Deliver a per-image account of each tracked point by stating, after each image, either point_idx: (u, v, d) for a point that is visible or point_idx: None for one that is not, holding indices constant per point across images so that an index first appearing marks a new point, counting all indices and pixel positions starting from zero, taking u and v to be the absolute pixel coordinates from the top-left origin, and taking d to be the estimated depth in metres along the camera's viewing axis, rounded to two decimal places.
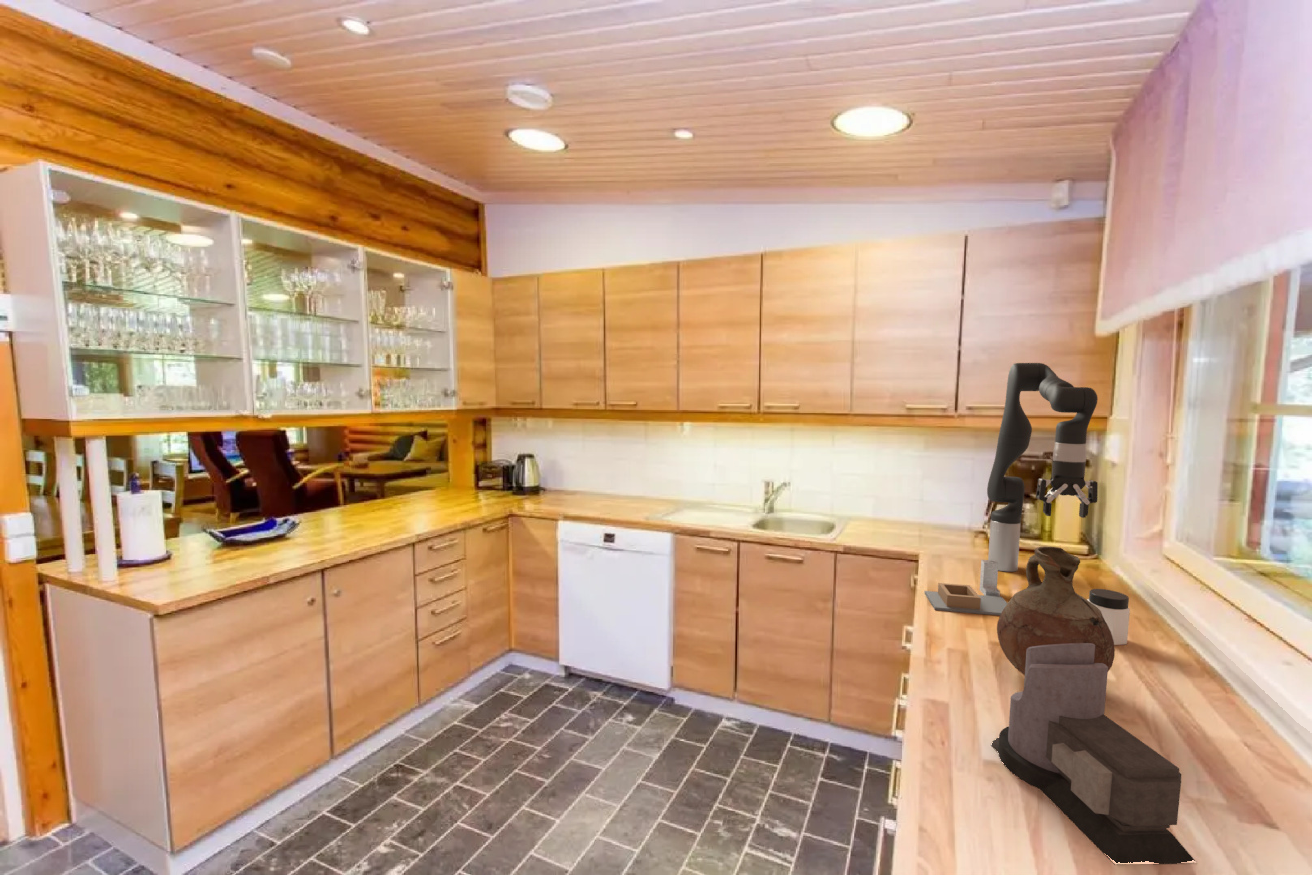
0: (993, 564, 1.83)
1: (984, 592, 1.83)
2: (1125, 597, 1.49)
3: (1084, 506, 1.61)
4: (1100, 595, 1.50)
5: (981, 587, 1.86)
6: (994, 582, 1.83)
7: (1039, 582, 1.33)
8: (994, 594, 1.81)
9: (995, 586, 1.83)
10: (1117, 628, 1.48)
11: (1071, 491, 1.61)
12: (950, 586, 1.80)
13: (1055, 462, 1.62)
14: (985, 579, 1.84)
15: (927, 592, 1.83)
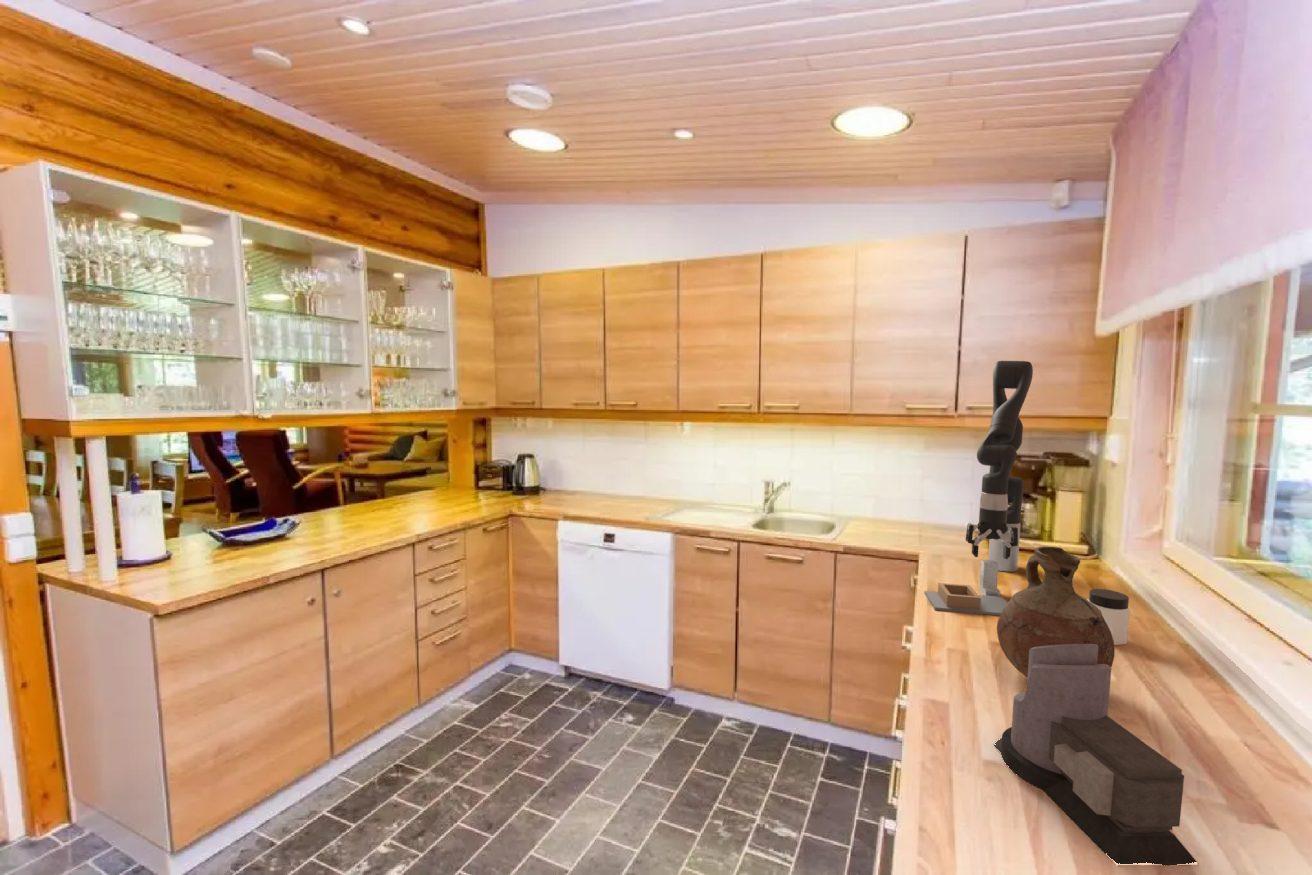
0: (993, 564, 1.83)
1: (984, 592, 1.83)
2: (1125, 597, 1.49)
3: (1006, 549, 1.82)
4: (1100, 595, 1.50)
5: (981, 587, 1.86)
6: (994, 582, 1.83)
7: (1039, 582, 1.33)
8: (994, 594, 1.81)
9: (995, 586, 1.83)
10: (1117, 628, 1.48)
11: (995, 535, 1.82)
12: (950, 586, 1.80)
13: (981, 509, 1.83)
14: (985, 579, 1.84)
15: (927, 592, 1.83)
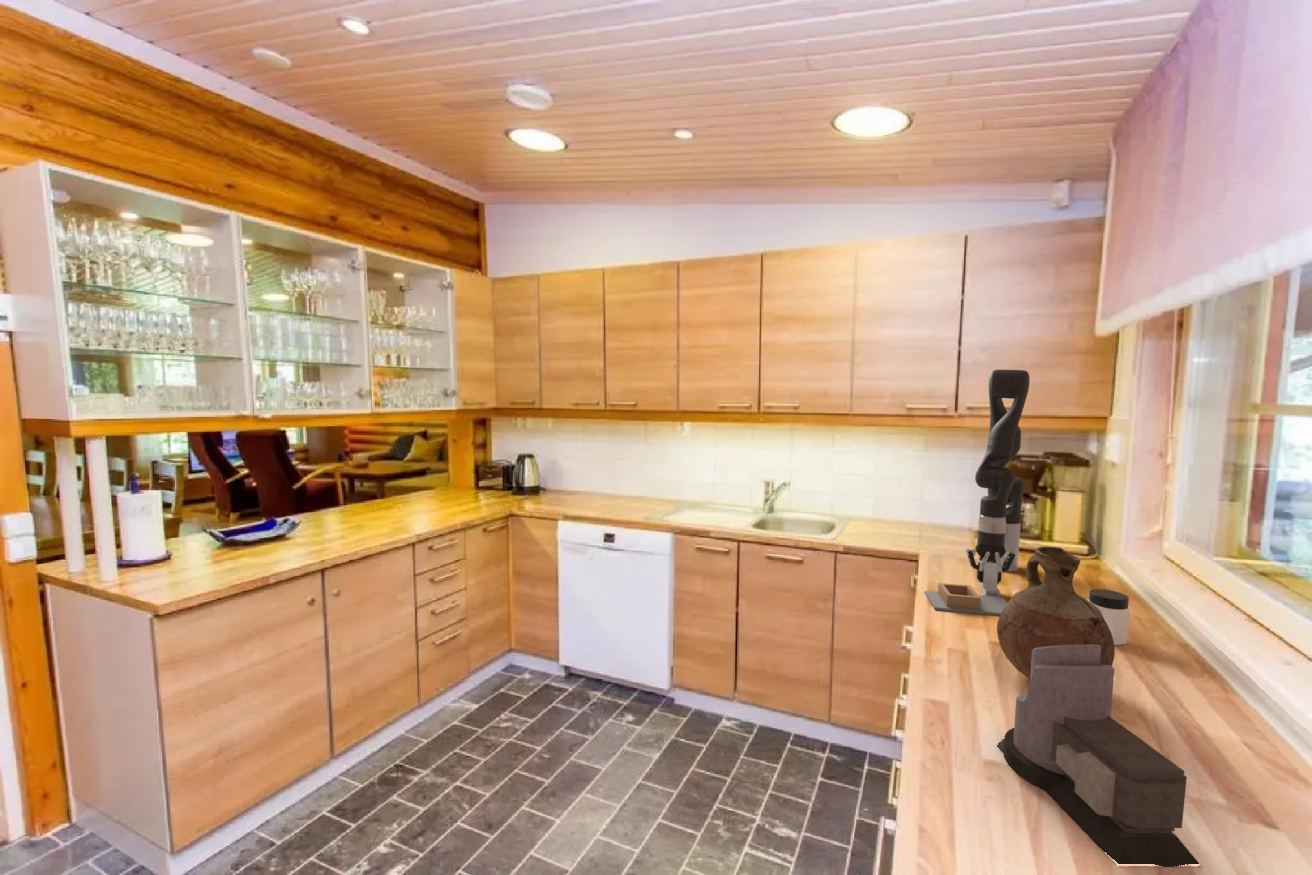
0: (993, 564, 1.83)
1: (984, 592, 1.83)
2: (1125, 597, 1.49)
3: None
4: (1100, 595, 1.50)
5: (981, 587, 1.86)
6: (994, 582, 1.83)
7: (1039, 582, 1.33)
8: (994, 594, 1.81)
9: (995, 586, 1.83)
10: (1117, 628, 1.48)
11: (993, 558, 1.83)
12: (950, 586, 1.80)
13: (979, 532, 1.84)
14: (985, 579, 1.84)
15: (927, 592, 1.83)
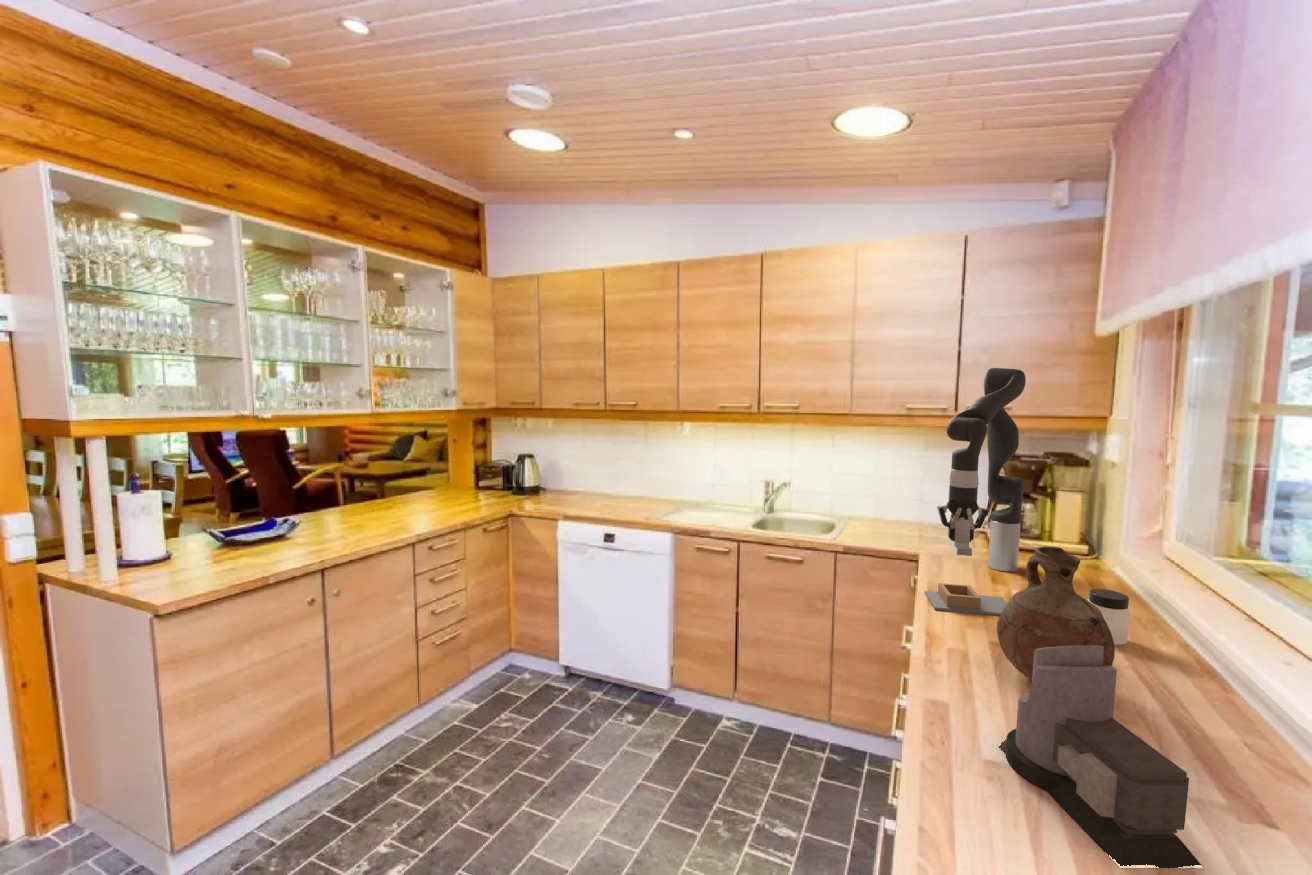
0: (965, 521, 1.73)
1: (955, 550, 1.73)
2: (1125, 597, 1.49)
3: (970, 531, 1.73)
4: (1100, 595, 1.50)
5: (953, 546, 1.75)
6: (966, 540, 1.73)
7: (1039, 582, 1.33)
8: (966, 552, 1.71)
9: (967, 544, 1.73)
10: (1117, 628, 1.48)
11: (965, 514, 1.73)
12: (950, 586, 1.80)
13: (951, 487, 1.74)
14: (956, 537, 1.74)
15: (927, 592, 1.83)
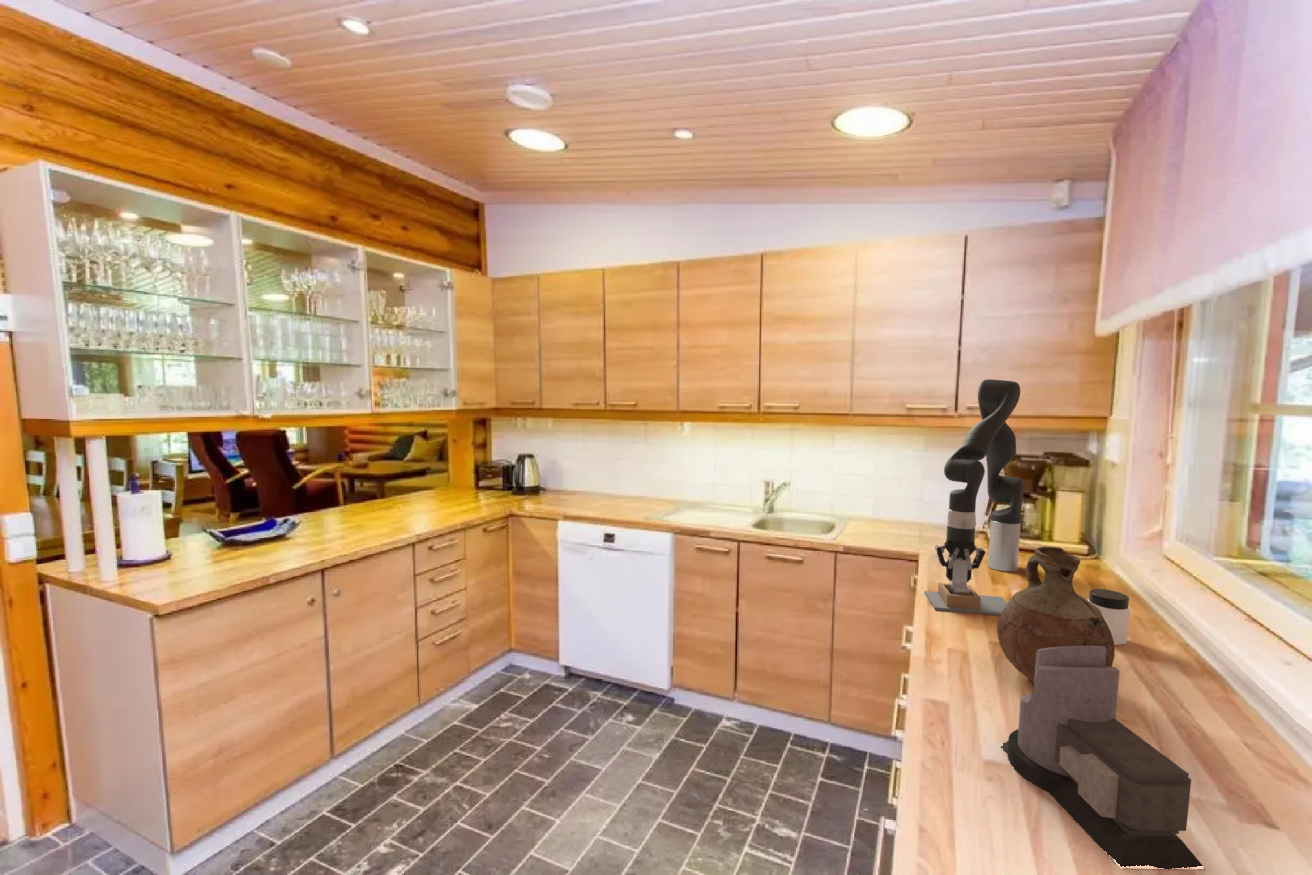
0: (963, 561, 1.74)
1: (953, 591, 1.74)
2: (1125, 597, 1.49)
3: None
4: (1100, 595, 1.50)
5: (950, 585, 1.77)
6: (964, 580, 1.74)
7: (1039, 582, 1.33)
8: (963, 593, 1.72)
9: (965, 584, 1.75)
10: (1117, 628, 1.48)
11: (963, 555, 1.74)
12: None
13: (948, 527, 1.75)
14: (954, 577, 1.75)
15: (927, 592, 1.83)
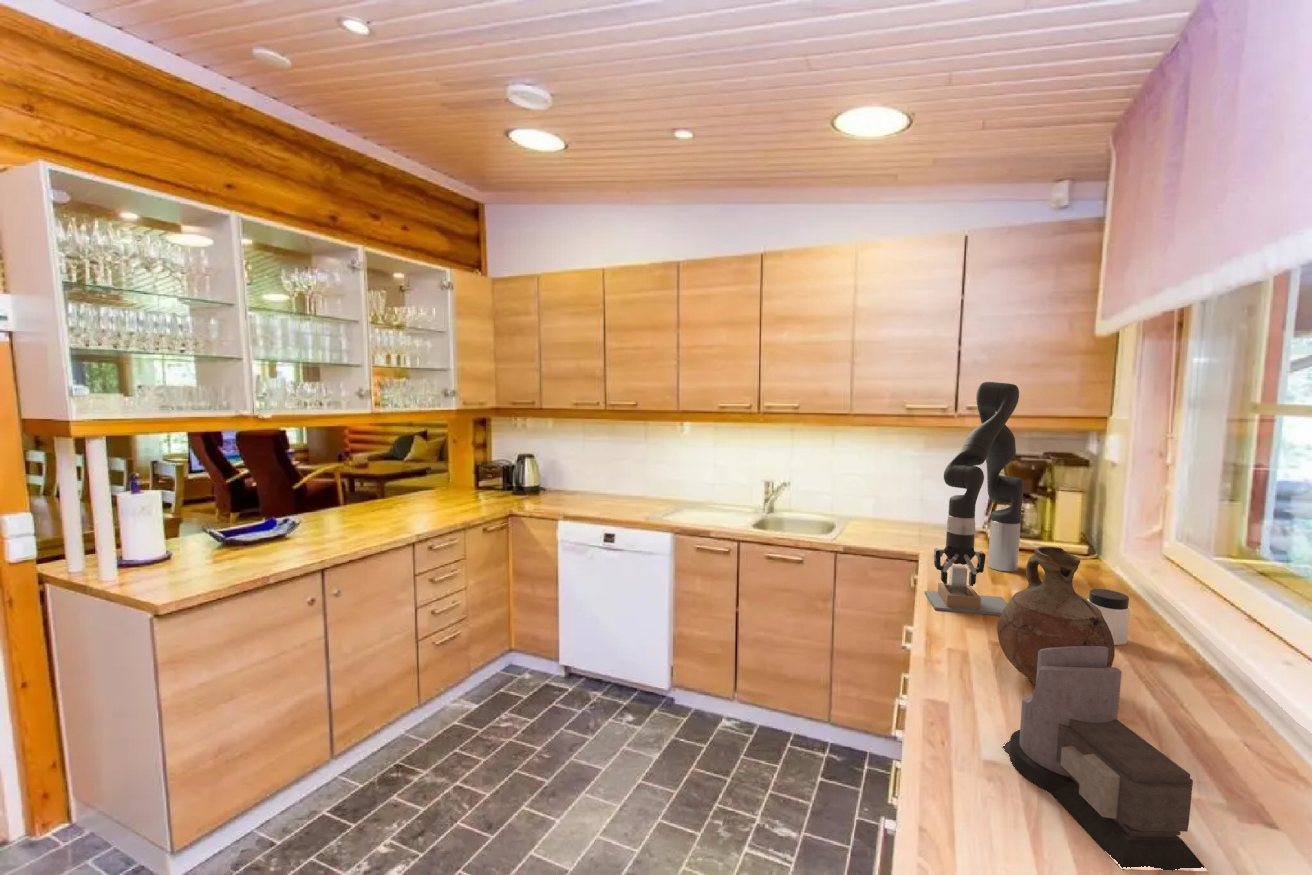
0: (962, 570, 1.74)
1: None
2: (1125, 597, 1.49)
3: (972, 575, 1.74)
4: (1100, 595, 1.50)
5: None
6: (963, 589, 1.75)
7: (1039, 582, 1.33)
8: None
9: (964, 593, 1.75)
10: (1117, 628, 1.48)
11: (962, 560, 1.75)
12: None
13: (948, 533, 1.75)
14: (953, 586, 1.75)
15: (927, 592, 1.83)
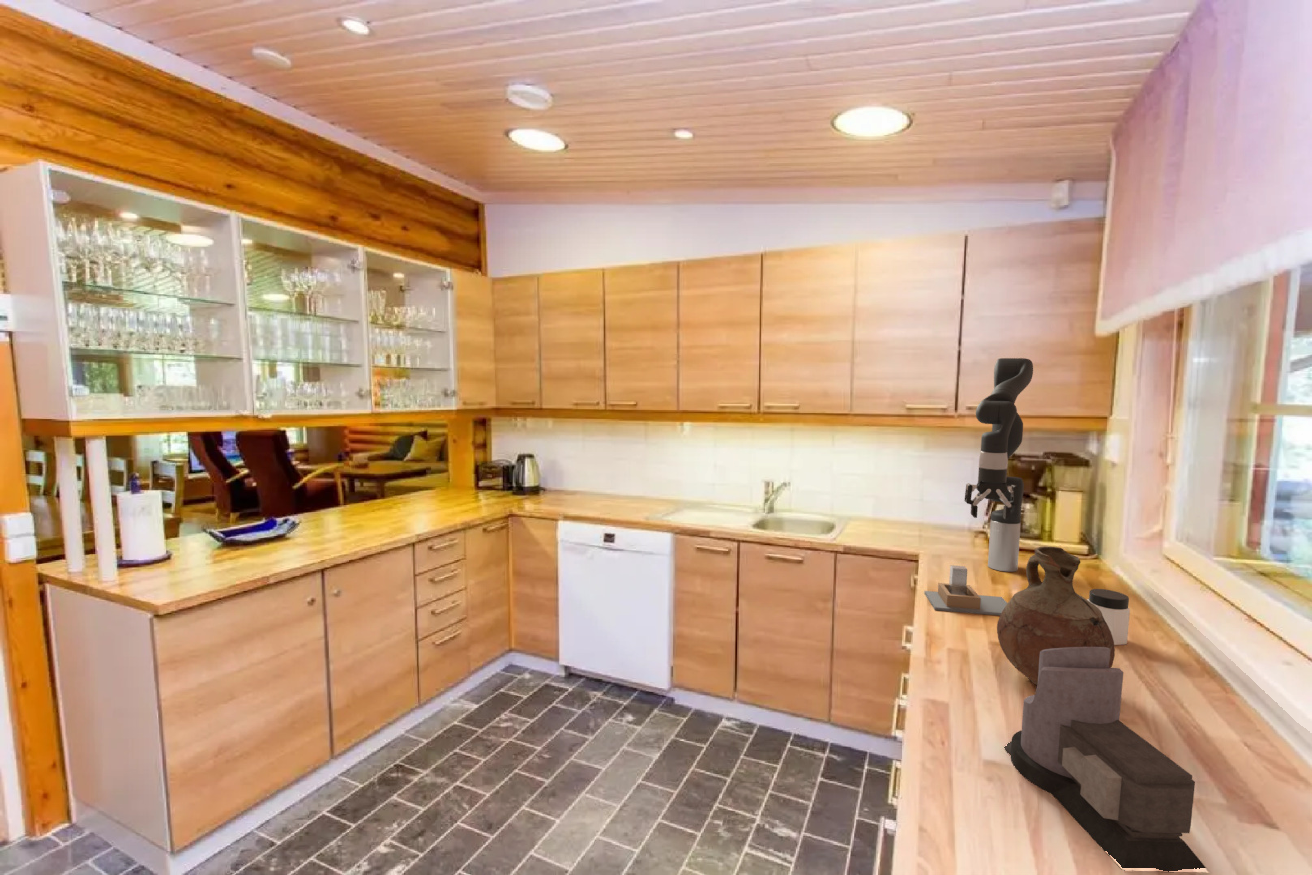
0: (962, 570, 1.74)
1: None
2: (1125, 597, 1.49)
3: (1006, 509, 1.78)
4: (1100, 595, 1.50)
5: None
6: (963, 589, 1.75)
7: (1039, 582, 1.33)
8: None
9: (964, 593, 1.75)
10: (1117, 628, 1.48)
11: (995, 495, 1.78)
12: None
13: (980, 469, 1.78)
14: (953, 586, 1.75)
15: (927, 592, 1.83)
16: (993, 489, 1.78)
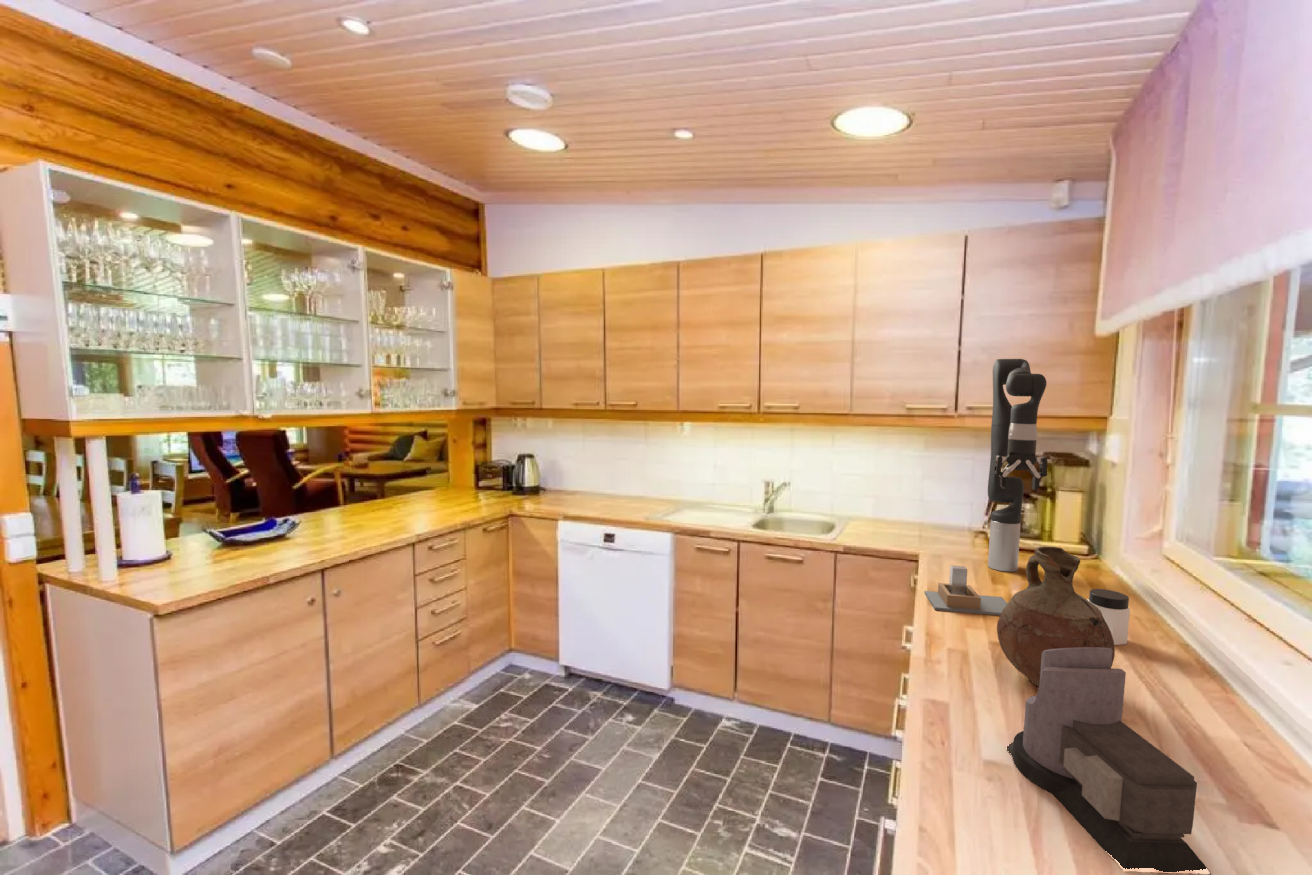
0: (962, 570, 1.74)
1: None
2: (1125, 597, 1.49)
3: (1035, 479, 1.81)
4: (1100, 595, 1.50)
5: None
6: (963, 589, 1.75)
7: (1039, 582, 1.33)
8: None
9: (964, 593, 1.75)
10: (1117, 628, 1.48)
11: (1024, 466, 1.81)
12: None
13: (1010, 440, 1.82)
14: (953, 586, 1.75)
15: (927, 592, 1.83)
16: (1023, 460, 1.81)
